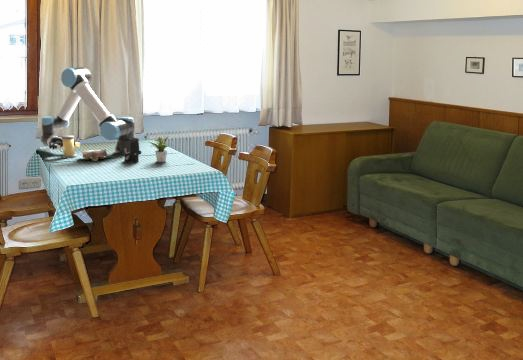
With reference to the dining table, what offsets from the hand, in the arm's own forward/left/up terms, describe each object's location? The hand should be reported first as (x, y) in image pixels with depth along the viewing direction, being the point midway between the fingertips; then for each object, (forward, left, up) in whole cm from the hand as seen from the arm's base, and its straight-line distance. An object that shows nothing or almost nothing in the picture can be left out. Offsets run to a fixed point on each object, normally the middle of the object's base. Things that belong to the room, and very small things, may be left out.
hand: (70, 146), depth 400 cm
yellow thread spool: (+1, -2, -7) cm, 7 cm away
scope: (-36, +25, -7) cm, 44 cm away
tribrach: (-14, +11, -7) cm, 19 cm away
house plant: (-53, +28, -7) cm, 60 cm away
